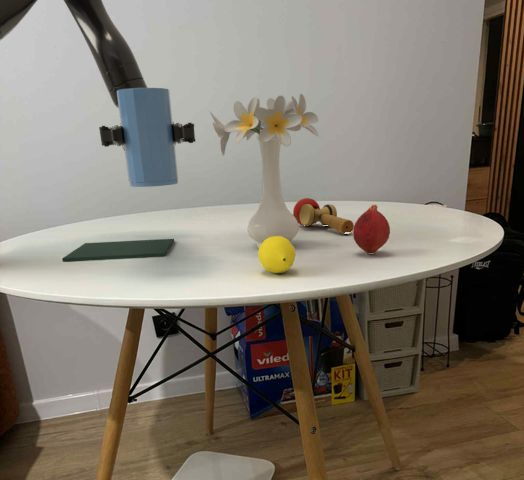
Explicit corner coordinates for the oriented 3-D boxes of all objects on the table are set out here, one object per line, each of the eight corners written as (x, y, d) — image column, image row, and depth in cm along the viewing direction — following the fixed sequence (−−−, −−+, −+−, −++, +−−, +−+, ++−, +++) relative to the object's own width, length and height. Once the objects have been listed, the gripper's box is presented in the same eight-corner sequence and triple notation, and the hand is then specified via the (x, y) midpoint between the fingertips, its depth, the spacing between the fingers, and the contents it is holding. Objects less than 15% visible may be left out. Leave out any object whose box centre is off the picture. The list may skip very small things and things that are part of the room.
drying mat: (62, 261, 88) (62, 258, 88) (85, 246, 101) (85, 243, 101) (164, 256, 89) (164, 252, 88) (174, 241, 101) (174, 238, 101)
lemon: (254, 269, 77) (252, 233, 75) (288, 265, 78) (287, 230, 76) (265, 280, 70) (264, 242, 68) (302, 276, 72) (301, 238, 70)
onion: (369, 260, 79) (371, 207, 76) (345, 254, 84) (346, 204, 81) (395, 254, 82) (399, 204, 79) (371, 249, 86) (373, 201, 83)
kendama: (364, 238, 102) (315, 216, 116) (364, 208, 98) (313, 189, 112) (333, 250, 100) (286, 226, 113) (332, 219, 96) (283, 199, 110)
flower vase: (215, 245, 96) (203, 99, 86) (307, 237, 99) (305, 96, 90) (227, 259, 84) (215, 92, 74) (331, 249, 88) (332, 89, 78)
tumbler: (125, 187, 68) (111, 89, 64) (135, 183, 75) (123, 93, 70) (175, 185, 68) (164, 86, 64) (180, 181, 75) (171, 91, 70)
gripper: (98, 111, 79) (87, 104, 64) (189, 108, 82) (199, 101, 67) (106, 162, 82) (97, 166, 67) (194, 157, 85) (204, 161, 70)
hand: (148, 134), depth 67 cm, fingers closed on tumbler, 7 cm apart
